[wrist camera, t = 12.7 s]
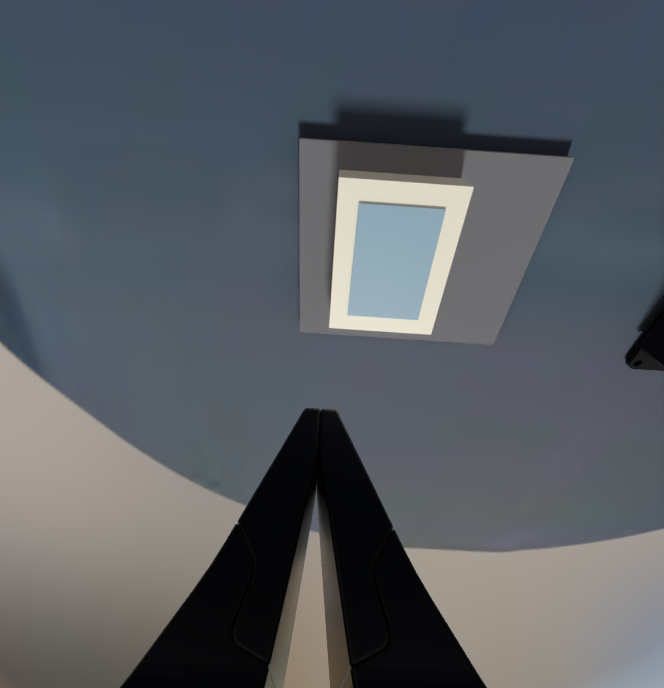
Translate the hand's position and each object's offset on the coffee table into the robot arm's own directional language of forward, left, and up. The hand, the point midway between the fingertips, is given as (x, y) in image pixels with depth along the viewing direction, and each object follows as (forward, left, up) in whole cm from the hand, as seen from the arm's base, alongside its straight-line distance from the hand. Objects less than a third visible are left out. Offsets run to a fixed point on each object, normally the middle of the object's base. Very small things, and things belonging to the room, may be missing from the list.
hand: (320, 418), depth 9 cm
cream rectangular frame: (-6, 0, -11) cm, 13 cm away
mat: (-5, 0, -13) cm, 14 cm away
